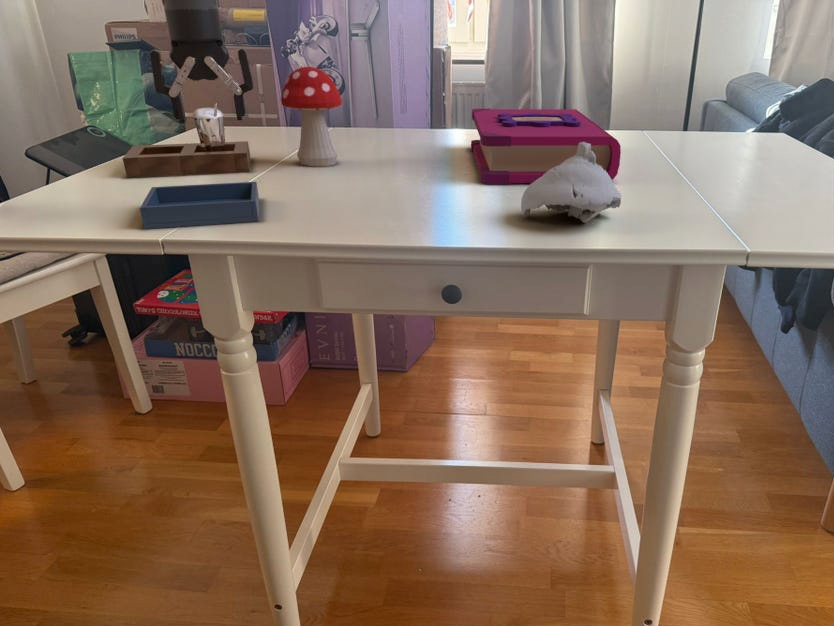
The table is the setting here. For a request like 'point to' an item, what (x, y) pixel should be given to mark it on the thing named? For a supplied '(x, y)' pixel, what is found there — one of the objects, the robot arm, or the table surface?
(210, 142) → the milkshake
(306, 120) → the decorative mushroom
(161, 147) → the tray
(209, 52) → the robot arm
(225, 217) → the tray
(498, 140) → the book
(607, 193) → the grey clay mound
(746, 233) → the table surface
